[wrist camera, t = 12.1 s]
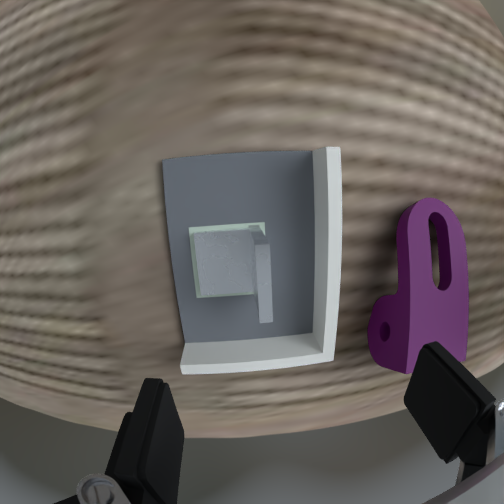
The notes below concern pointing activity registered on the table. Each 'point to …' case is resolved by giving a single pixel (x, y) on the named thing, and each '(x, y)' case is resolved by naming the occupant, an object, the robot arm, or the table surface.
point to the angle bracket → (236, 265)
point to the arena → (281, 254)
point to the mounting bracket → (423, 291)
